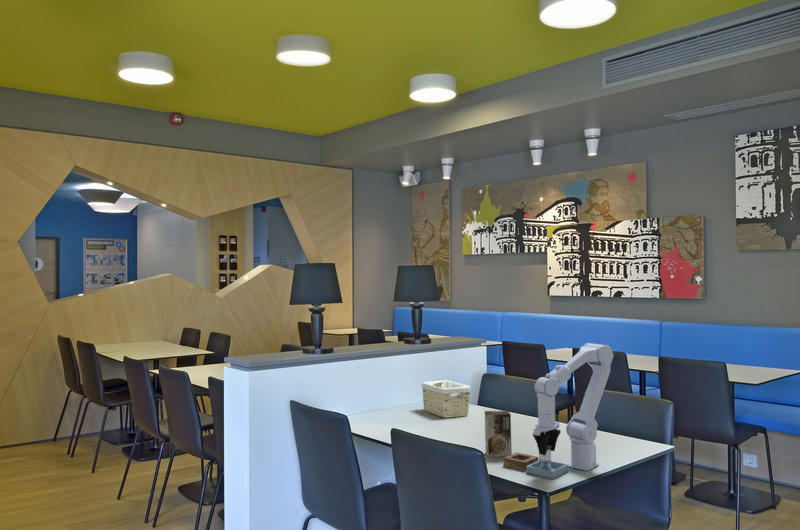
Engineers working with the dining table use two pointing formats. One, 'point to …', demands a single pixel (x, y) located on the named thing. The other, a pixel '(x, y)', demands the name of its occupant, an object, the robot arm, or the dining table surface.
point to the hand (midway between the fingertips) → (547, 452)
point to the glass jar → (546, 459)
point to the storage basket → (446, 398)
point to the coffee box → (498, 433)
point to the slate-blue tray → (556, 471)
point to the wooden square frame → (519, 461)
